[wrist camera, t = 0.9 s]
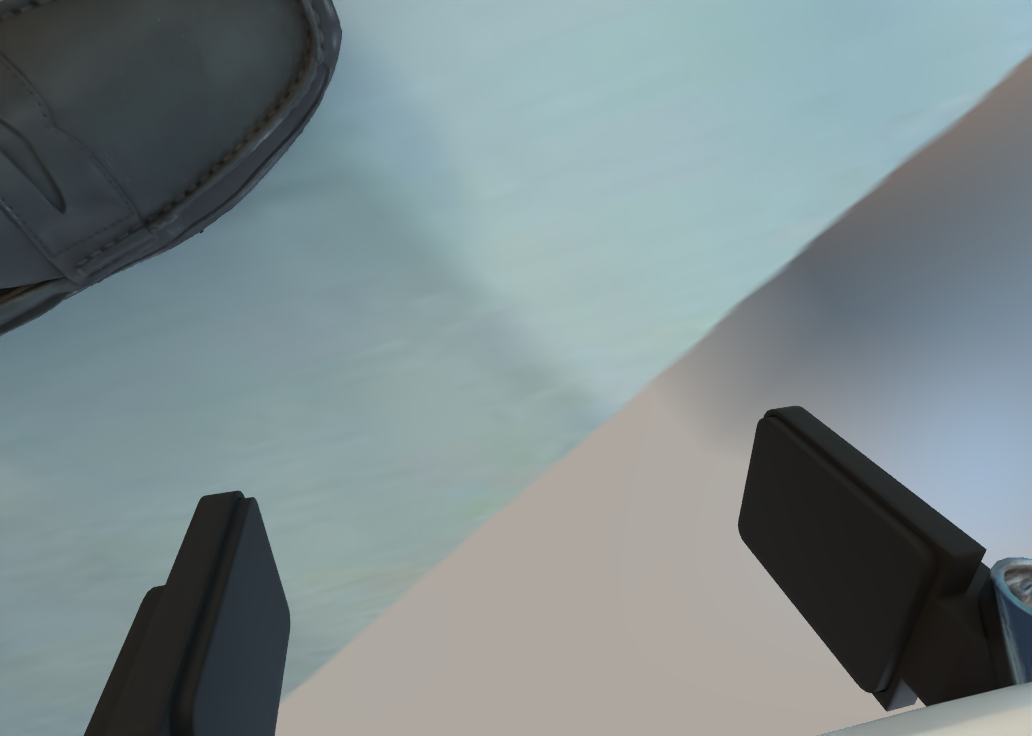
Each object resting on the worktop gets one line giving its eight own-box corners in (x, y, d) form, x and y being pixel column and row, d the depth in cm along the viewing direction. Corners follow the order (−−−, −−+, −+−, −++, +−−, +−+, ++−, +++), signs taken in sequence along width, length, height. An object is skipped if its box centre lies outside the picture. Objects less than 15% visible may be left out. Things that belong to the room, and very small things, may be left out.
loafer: (390, 80, 28) (398, 81, 19) (-36, 422, 31) (-203, 562, 22) (221, -156, 23) (128, -303, 14) (-269, 275, 26) (-604, 378, 17)
